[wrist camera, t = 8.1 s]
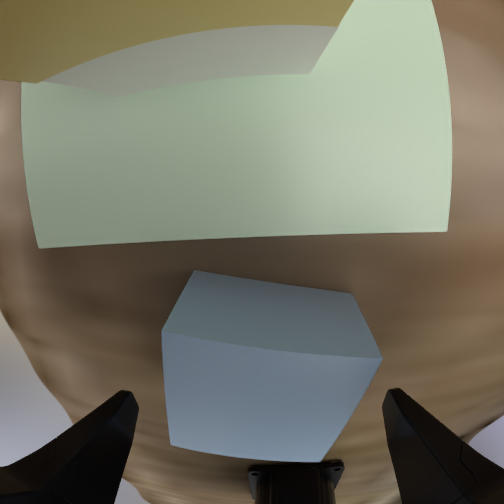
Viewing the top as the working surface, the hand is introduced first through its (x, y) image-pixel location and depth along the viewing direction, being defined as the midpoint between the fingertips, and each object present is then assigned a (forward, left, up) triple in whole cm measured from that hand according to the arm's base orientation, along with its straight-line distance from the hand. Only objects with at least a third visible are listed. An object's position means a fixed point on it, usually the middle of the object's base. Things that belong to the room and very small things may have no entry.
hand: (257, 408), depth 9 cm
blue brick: (0, 0, -4) cm, 4 cm away
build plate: (+13, +1, -3) cm, 14 cm away
